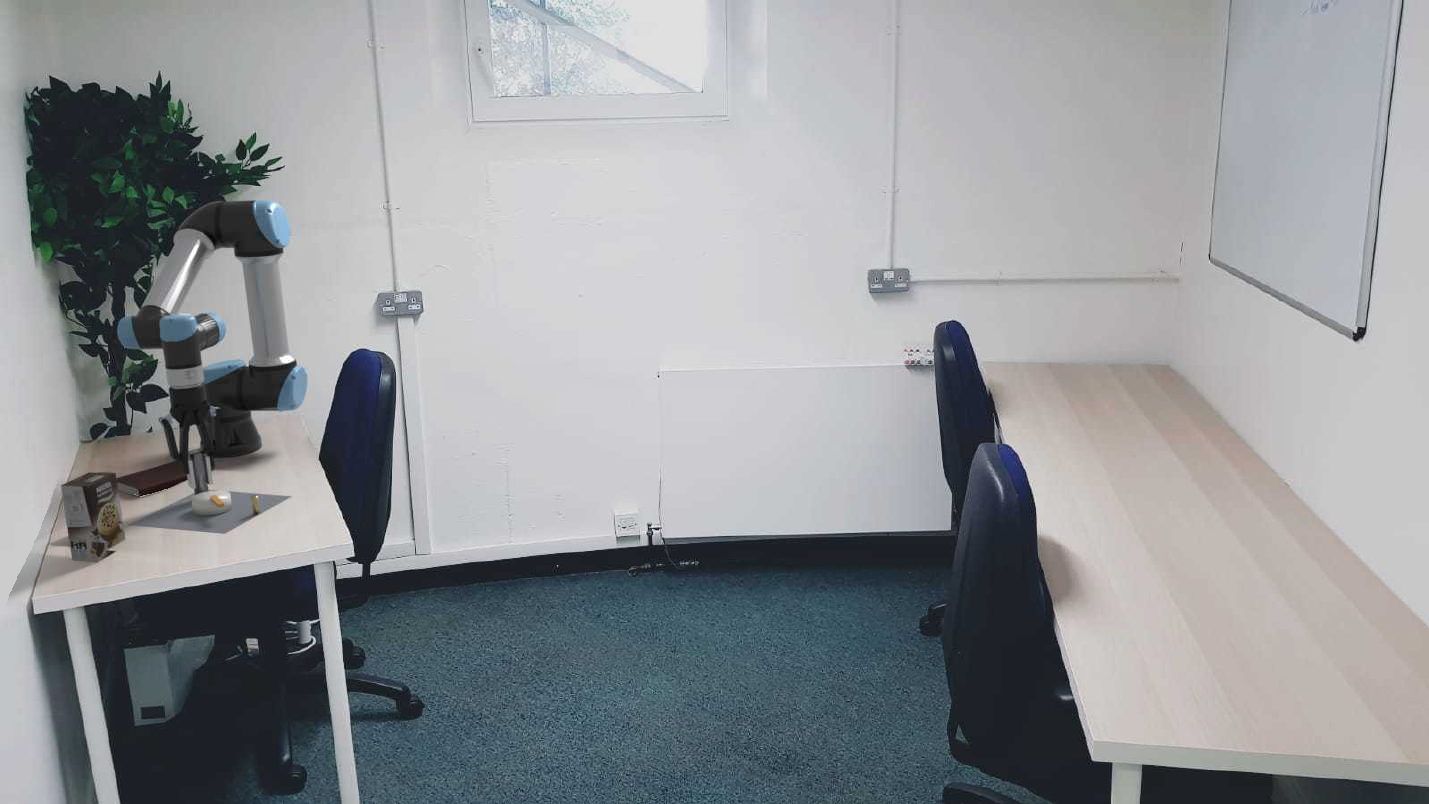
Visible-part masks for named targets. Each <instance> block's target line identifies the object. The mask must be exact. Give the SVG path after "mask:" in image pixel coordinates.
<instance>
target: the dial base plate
mask: <svg viewBox="0 0 1429 804" xmlns="http://www.w3.org/2000/svg"><path fill="white" fill-rule="evenodd" d="M209 491H220V490H215V489H209ZM226 491H227V492H229V493H230V495H231V503H232V508H231V509H230V510H228V511H226V512H223V513H220V514H215V515H205V516H204V515H196V514H194V513H193V508H192V500H191V498H192V497H193V496H195V493H194V492H193V493H191V494H189V495H186V496H185V497H183V498H180V499H179V500H176V501H174V502H172V503H171V504H169V505H166V506H164V507H162V508H160V509H158V510H156V511H154V512H152V513H150V514H148V515H146V516H143V517H141V518H140V519H137V520H136V521H135V520H134V521H133V522H131V523H129V524H128V525H129V526H138V527H146V528H159V529H160V528H161V529H169V530H178V531H179V530H181V531H193V532H203V533H213V534H214V533H215V534H216V533H217V534H227V533H229V532H231V531H232V530H234V529H236V528H238V527H239V526H241V525H243V524H245V523H247V522H249V521H251V520H252V519H254V518H256V517H258V516H259V515H261V514H263V513H265V512H267V511H268V510H271V509H272V508H274V507H276V506H277V505H279V504H281V503H283V502H284V501H286V500H288V499H291V498H292V496H291V495H279V494H267V493H266V494H265V493H254V492H253V493H252V492H242V491H241V492H240V491H231V490H230V491H228V490H226Z"/></svg>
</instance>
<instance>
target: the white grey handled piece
mask: <svg viewBox="0 0 1429 804" xmlns="http://www.w3.org/2000/svg"><path fill="white" fill-rule="evenodd" d="M188 456H189V459H191V460H192V464H193V471H194V478H195V484H196V488H193V491H194V492H193V493H195V496H193V497H192V498H191V500H192V508H193V513H194V514H196V515H204V516H205V515H215V514H220V513H223V512H226V511H228V510H230V509H231V508H232V503H231V495H230V493H229V492H227V491H228V490H219V491H209V490H210V489H209V484H208V481H207V474H206V466H205V458H204V451H202V450H200V449H199V450H193V451H190V452H188Z"/></svg>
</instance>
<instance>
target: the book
mask: <svg viewBox="0 0 1429 804" xmlns="http://www.w3.org/2000/svg"><path fill="white" fill-rule="evenodd" d="M211 472H214V469H211ZM116 478H117V485H118V490H119V491H118V492H121V491H123V492H122V493H124V492H125V494H127V493H130V494H129V495H131V494H136V495H138V496H143V495H147V494H152V493H155V492H158V491H162V490H164V489H167V490H169V489H171V487H172V488H174V487H175V486H177V485H180V484H182V483H184V482H188V478H187V474H186V475H185V474H183V472H182V469H181V462H180V460H174V461H173V460H172V461H170V462H166V463H164V464H163V463H162V464H159V465H156V466H153V467H150V468H147V469H143V470H140V471H136V472H133V473H129V474H126V475H123V476H119V477H118V476H117V477H116ZM168 488H169V489H168ZM162 492H163V491H162ZM158 493H159V492H158ZM155 494H156V493H155ZM152 495H153V494H152Z"/></svg>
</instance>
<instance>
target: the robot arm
mask: <svg viewBox="0 0 1429 804" xmlns="http://www.w3.org/2000/svg"><path fill="white" fill-rule="evenodd" d="M290 236H291V224H290V221H289V218H288V216H287V214H286V212H285V210H284V208H283V207H282V206H281V205H280V204H279V203H277V202H275V201H273V200H261V199H255V200H254V199H251V200H217V201H216V200H215V201H213V202H209V203H207V204H204V205H203V206H200V207H199V208H198V209H196V210H194V212H192V213H191V214H190V215H189V216H188V217H187V218H185V220H184V221H183V222H182V223H181V224H180V226H179V227H178V229H177V230H176V232H175V234H174V236H173V243H174V244H173V245H174V246H173V247H172V249H171V251H170V252H169V255H168V257H167V258H166V260H165V262H164V263H163V265H162V268H161V270H160V272H159V274H158V276H157V277H156V279H155V281H154V282H153V285H152V286H151V288H150V290H149V292H148V294H147V296H146V298H145V299H144V301H143V303H142V305H141V306H140V309H139V310H138V312H137V314H136V315H133V314H132V315H128V316H124V317H122V318H121V319H119V322H118V325H117V329H116V330H117V338H118V341H120V344H121V345H122V347H124V348H126V349H132V350H143V351H144V350H162V352H163V358H164V367H165V374H166V375H165V376H166V380H167V381H166V382H167V385H168V386H169V387H168V396H169V402H170V403H169V404H170V409H169V413H168V414H166V415H165V416H161V417H159V418H158V422H159V423H160V424H161V426H162V428H163V431H164V436H165V439H166V444H167V447H168V448H167V449H168V451H169V452H168V453H169V456H170V458H171V459H173V460H174V461H176V460H180V462H181V469H182V472H183V474H185V475H186V474H187V478H188V480H187V485H188V486H189V487H190V488H191V489H193V490H194V488H196V484H195V478H194V471H193V464H192V460H191V459H190V457H189V442H190V441H189V434H190V433H189V432H190V431H191V430H190V429H191V428H190V427H192V426H195V427H196V428H197V432H198V435H199V437H200V441H199V450H202V451H204V458H205V466H206V474H207V481H208V486H209V485H211V486H212V485H214V479H213V473H212V471H211V469H213V470H214V469H215V468H216V464H215V458H223V457H224V458H226V457H234V456H235V457H236V456H242V455H245V454H249V453H253V452H255V451H257V450H259V449H260V448H262V446H263V443H262V436H261V435H260V434H259V431H258V428H257V427H256V424H255V422H254V420H253V417H252V412H285V411H295V410H297V409H299V408H300V407H301V406H302V404H303V402H304V400H305V397H306V394H307V390H308V373H307V370H306V369H305V367H304V366H301V365H298V363H297V357H296V356H295V355H294V354H292V353H291V352H290V350H289V349H290V348H289V340H288V332H287V323H286V315H285V307H284V299H283V290H282V282H281V274H280V273H281V272H280V264H279V260H280V259H281V257H282V256H283V255H284V248H286V247H287V246H288V245H289V244H290V241H291V237H290ZM224 248H225V249H233V253H234V257H235V259H237V260H238V261H239V262H241V264H242V274H243V280H244V288H245V296H246V303H247V312H248V319H249V320H248V321H249V327H250V334H251V335H250V336H251V342H252V343H251V344H252V351H253V356H252V357H251V358H250V359H249V360H248V366H247V362H246V361H245V360H244V359H239V358H237V359H231V360H224V361H223V360H222V361H219V362H215V363H212V364H208V365H206V366H204V367H203V361H202V353H201V352H203V351H204V350H207V349H209V348H212V347H214V346H217V344H219V343H220V342H221V341H223V339H224V338H225V336H226V333H227V327H226V324H225V322H224V319H222V318H221V316H219V315H218V314H216V313H213V312H205V313H199V314H197V315H194V314H191V313H179V311H180V309H181V308H182V306H183V303H184V301H185V300H186V298H187V295H188V293H189V292H190V290H191V288H192V286H193V284H194V282H195V280H196V278H197V277H198V274H199V272H200V270H201V268H202V267H203V264H204V263H205V261H206V260H208V259H210V258H211V257H212V256H213V255H214V252H215V251H216V250H220V249H224ZM173 419H174V420H175V421H176V423H178V429H179V441H178V445H179V447H178V446H177V441H176V437H175V433H174V429H173V427H172V424H173Z"/></svg>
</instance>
